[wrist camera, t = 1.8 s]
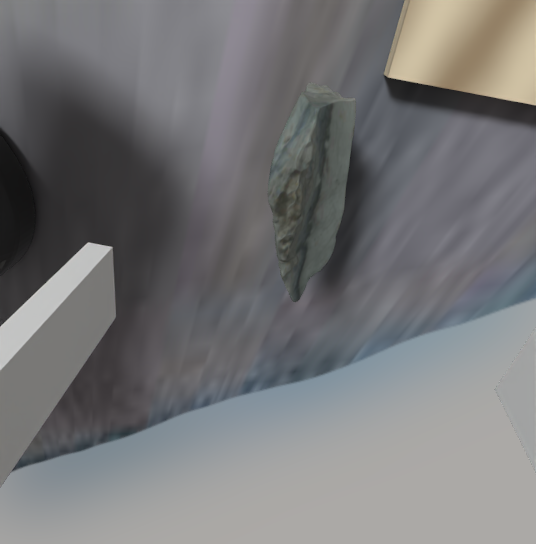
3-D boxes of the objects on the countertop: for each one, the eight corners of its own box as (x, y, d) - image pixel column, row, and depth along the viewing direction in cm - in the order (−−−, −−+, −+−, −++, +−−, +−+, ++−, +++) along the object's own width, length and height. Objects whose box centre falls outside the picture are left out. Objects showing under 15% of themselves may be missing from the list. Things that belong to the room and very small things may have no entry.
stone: (327, 243, 29) (333, 335, 21) (271, 237, 29) (254, 325, 21) (356, 79, 23) (381, 112, 15) (287, 72, 24) (273, 101, 15)
